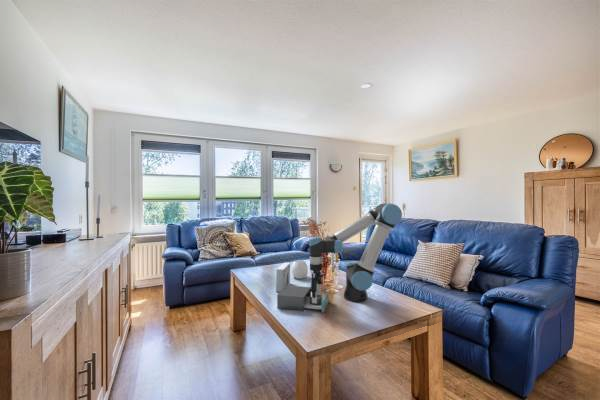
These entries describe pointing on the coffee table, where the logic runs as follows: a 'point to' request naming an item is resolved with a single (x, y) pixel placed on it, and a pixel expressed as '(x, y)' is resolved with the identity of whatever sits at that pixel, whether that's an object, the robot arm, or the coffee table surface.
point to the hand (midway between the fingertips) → (316, 298)
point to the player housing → (293, 298)
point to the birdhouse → (321, 307)
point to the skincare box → (282, 277)
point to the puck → (317, 301)
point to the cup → (299, 269)
